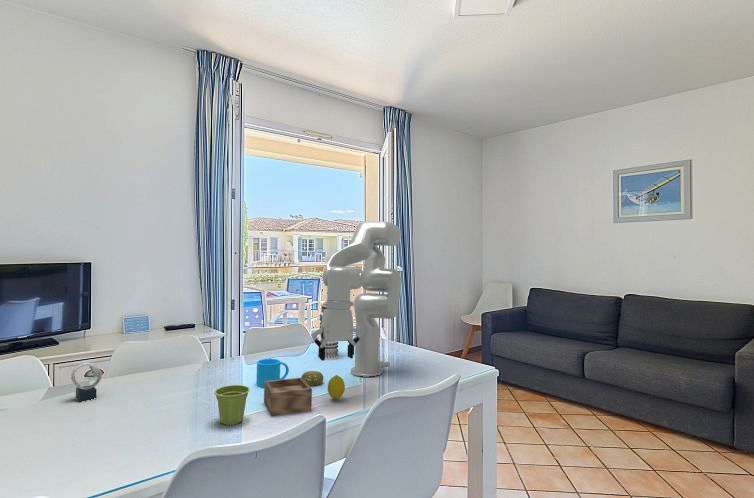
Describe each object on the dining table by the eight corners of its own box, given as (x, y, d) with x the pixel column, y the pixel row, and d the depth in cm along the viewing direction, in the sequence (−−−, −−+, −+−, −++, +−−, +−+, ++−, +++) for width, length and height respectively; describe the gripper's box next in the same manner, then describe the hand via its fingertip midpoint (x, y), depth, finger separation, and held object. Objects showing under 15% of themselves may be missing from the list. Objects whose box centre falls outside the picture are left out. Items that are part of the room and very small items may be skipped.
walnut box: (301, 398, 139) (301, 377, 139) (311, 411, 128) (312, 388, 128) (263, 403, 134) (264, 381, 134) (271, 417, 123) (271, 393, 123)
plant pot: (214, 430, 113) (215, 397, 113) (212, 417, 122) (213, 386, 122) (250, 425, 117) (251, 393, 117) (246, 412, 125) (247, 383, 125)
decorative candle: (321, 354, 197) (322, 300, 197) (340, 355, 196) (342, 301, 196) (315, 359, 188) (317, 302, 188) (336, 360, 187) (337, 303, 187)
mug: (262, 389, 146) (262, 366, 146) (252, 383, 152) (253, 360, 152) (293, 383, 154) (294, 361, 154) (283, 377, 160) (283, 356, 160)
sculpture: (321, 369, 159) (325, 375, 152) (321, 379, 159) (324, 386, 152) (300, 370, 157) (302, 376, 149) (300, 381, 157) (302, 387, 149)
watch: (103, 397, 134) (104, 362, 134) (72, 403, 129) (73, 367, 129) (98, 393, 138) (100, 359, 138) (68, 398, 132) (69, 363, 132)
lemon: (327, 396, 141) (328, 372, 141) (344, 396, 141) (345, 372, 141) (327, 402, 135) (327, 377, 135) (344, 402, 136) (345, 377, 136)
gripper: (358, 304, 145) (356, 354, 145) (309, 304, 138) (307, 358, 137) (367, 306, 139) (365, 359, 138) (316, 307, 131) (314, 363, 130)
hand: (336, 358), depth 138 cm, fingers open, 9 cm apart
